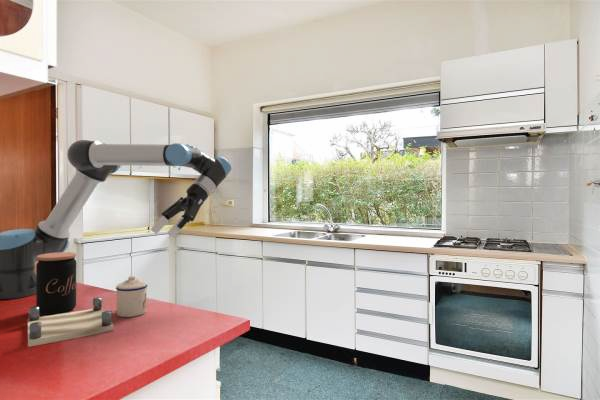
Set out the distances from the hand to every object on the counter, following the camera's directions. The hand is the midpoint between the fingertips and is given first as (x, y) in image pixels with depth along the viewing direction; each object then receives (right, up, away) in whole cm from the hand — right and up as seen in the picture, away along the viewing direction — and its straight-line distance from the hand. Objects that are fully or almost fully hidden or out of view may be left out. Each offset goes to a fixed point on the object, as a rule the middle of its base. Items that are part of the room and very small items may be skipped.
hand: (161, 233), depth 127 cm
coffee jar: (-30, -24, -9) cm, 40 cm away
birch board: (-17, -24, -23) cm, 38 cm away
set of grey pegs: (-17, -23, -23) cm, 37 cm away
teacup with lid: (-7, -25, -9) cm, 27 cm away
